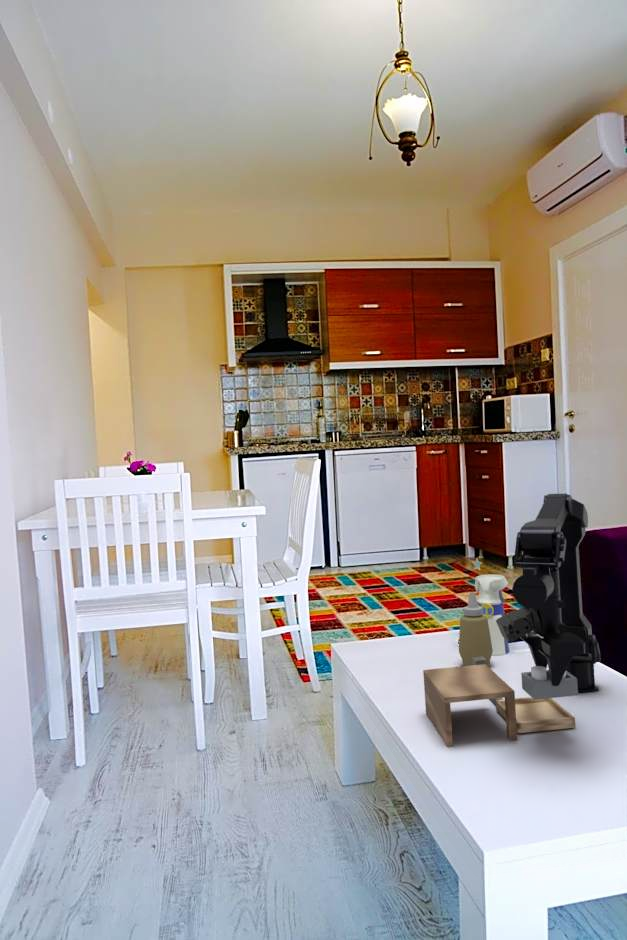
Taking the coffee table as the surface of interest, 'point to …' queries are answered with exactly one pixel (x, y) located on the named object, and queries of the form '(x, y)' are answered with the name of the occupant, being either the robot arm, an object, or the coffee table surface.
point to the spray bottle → (492, 606)
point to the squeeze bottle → (474, 633)
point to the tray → (547, 684)
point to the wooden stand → (464, 695)
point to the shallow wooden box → (534, 711)
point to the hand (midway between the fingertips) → (548, 680)
